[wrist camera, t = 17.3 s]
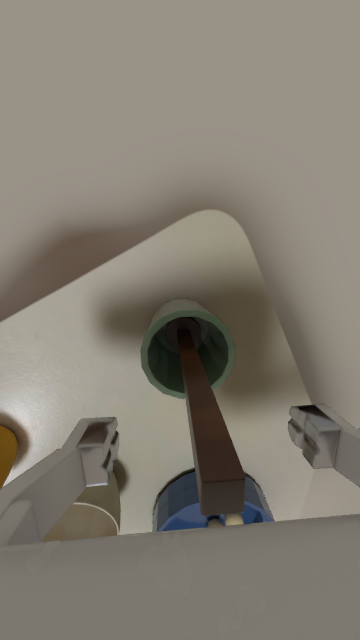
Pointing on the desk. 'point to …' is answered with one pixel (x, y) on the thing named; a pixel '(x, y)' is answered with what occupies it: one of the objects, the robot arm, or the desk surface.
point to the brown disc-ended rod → (207, 428)
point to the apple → (6, 453)
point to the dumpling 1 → (214, 523)
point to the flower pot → (90, 514)
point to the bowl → (184, 507)
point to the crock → (165, 360)
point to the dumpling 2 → (233, 519)
